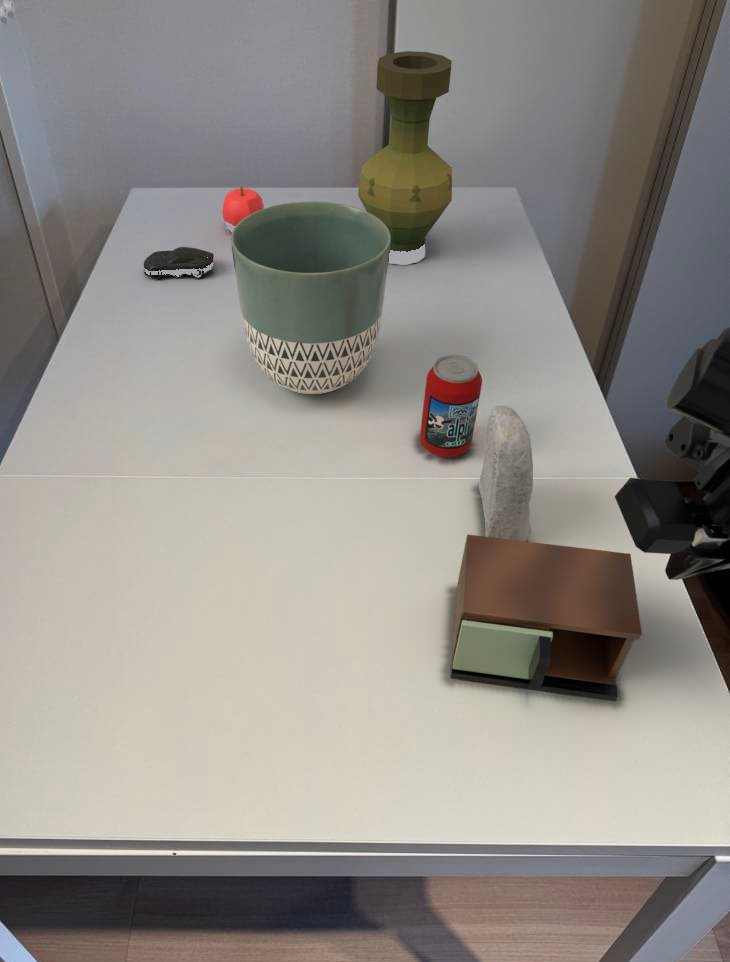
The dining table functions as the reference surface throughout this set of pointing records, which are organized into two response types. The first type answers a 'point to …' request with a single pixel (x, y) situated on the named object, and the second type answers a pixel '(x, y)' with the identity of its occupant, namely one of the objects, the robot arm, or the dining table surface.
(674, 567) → the robot arm
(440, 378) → the beverage can
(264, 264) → the planter
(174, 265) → the toy car
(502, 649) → the sliding cabinet door
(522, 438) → the decorative stone
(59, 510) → the dining table surface
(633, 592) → the cabinet
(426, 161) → the vase
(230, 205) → the apple
